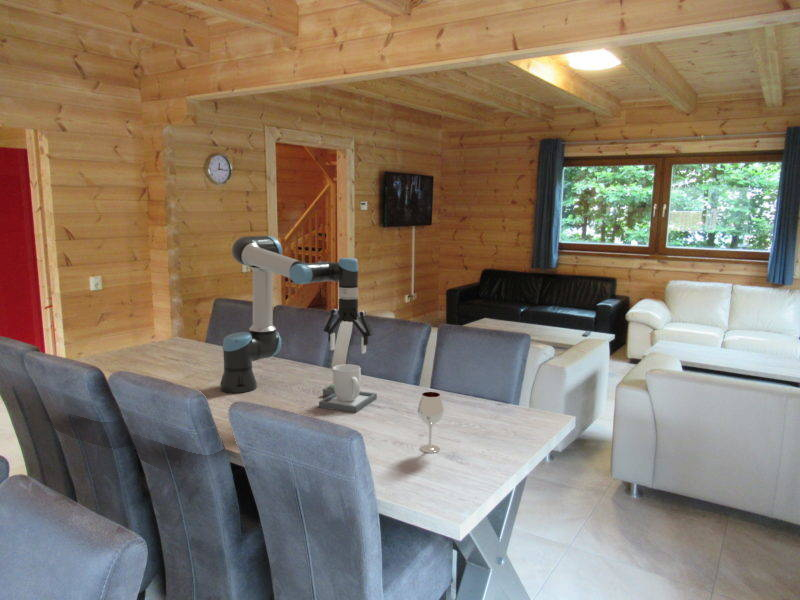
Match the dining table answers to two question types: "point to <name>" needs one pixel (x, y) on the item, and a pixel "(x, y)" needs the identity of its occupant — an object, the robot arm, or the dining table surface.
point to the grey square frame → (327, 391)
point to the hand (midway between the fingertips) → (348, 351)
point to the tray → (352, 406)
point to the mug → (346, 382)
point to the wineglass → (430, 415)
